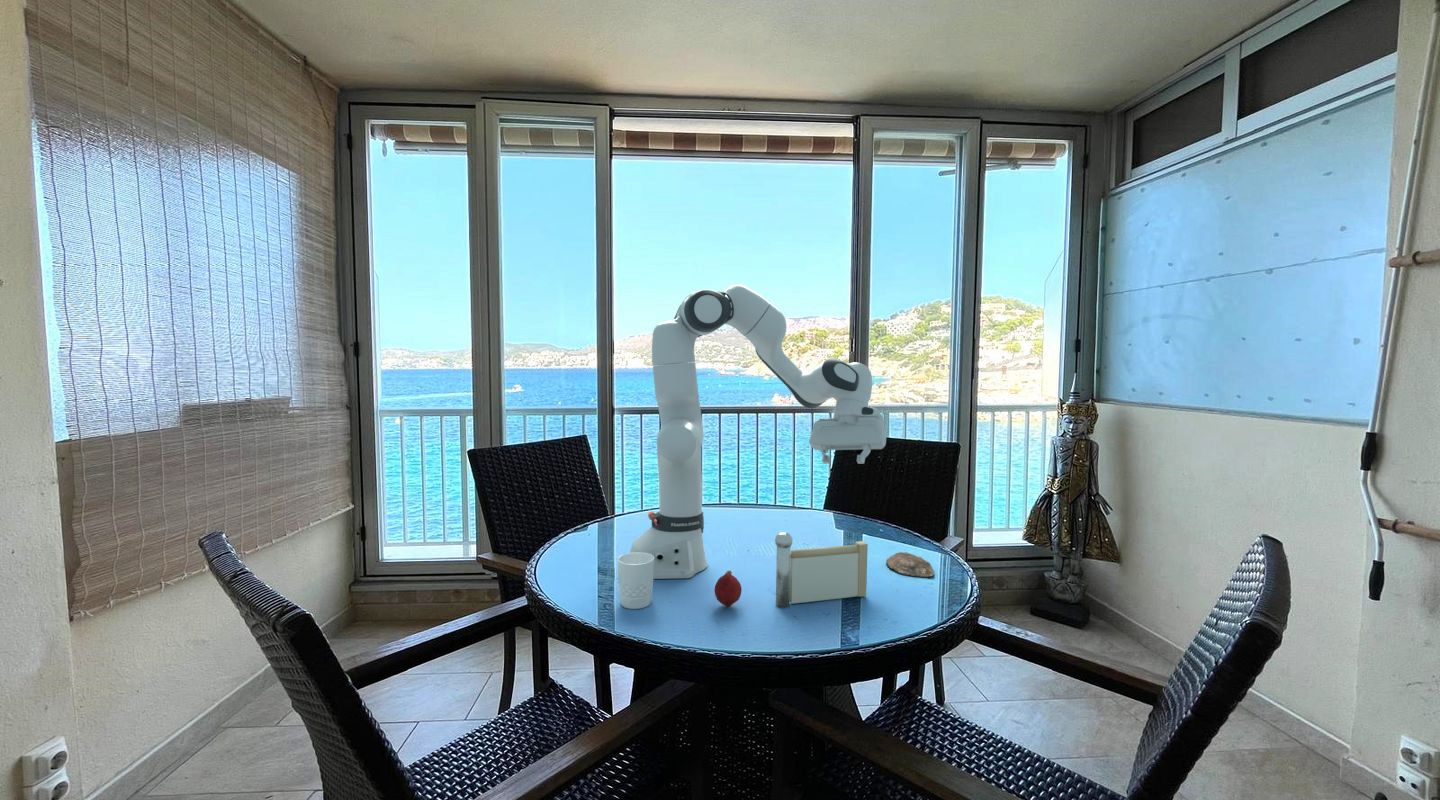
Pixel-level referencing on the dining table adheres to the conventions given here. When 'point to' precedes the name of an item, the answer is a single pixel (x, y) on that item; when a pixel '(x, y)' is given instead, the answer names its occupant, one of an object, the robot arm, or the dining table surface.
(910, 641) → the dining table surface
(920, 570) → the shell
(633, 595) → the white cup
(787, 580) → the gate post
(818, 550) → the gate leaf
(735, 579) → the onion
